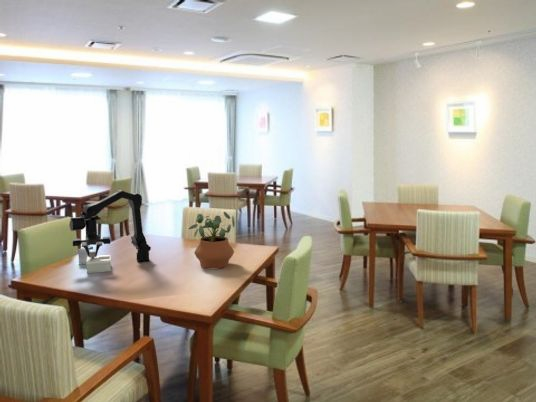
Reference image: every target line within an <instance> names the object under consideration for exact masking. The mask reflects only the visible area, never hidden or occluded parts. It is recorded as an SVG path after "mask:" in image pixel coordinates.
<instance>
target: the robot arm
mask: <svg viewBox="0 0 536 402" xmlns="http://www.w3.org/2000/svg"><path fill="white" fill-rule="evenodd" d="M121 199H125V200H128V201H127V202H128V204H129V206H130V208H131V214H132V224H133V235H132V236H130V237H131V238H130V239H131V244H132V245H133V246H134V248H135V249H136V251H137V252H136V261H137V262H138V263H142V262H143V263H144V262H151V261H150V252H151V250H152V247H151V246H150V245H149V244H148V242H147V239H146V236H145V234H144V231H143V222H142V214H141V206H142V204H143V196H142V195H141V194H139V193H136V192H127V191H124V190H121V189H119V190H116V192H113V193H112V194H110V195H108V196H106V197H105V198H102V199H101V200H99V201H96V202H91V203H88V204H86V205H85V206H84V207H83V209H82V210H83V211H82V212H81V213H80V215H79V217H78V216H77V217H70V220H69V229H70V231H71V232H73V231H81V230H83V231H84V229H85V239H82V238H74V239H72V247H80V246H81V248H85V250H86V251H87V254H88V256H89V247H88V246H92V245H93V246H95V249H96V257H97V256H98V252H99V250H100V247H102V246H103V244H104V245H107V244H108V245H110V244H111V236H103V237H102V238H101V234H98V221H101V219H102V218H101V217H99V215H98V214H99V213H101V211H102V210H103V209H105V208H107V207H108V206H110V205H111V204H114V203H115V202H117V201H119V200H121Z"/></svg>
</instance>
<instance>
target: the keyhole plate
mask: <svg viewBox="0 0 536 402" xmlns="http://www.w3.org/2000/svg"><path fill="white" fill-rule="evenodd" d="M111 259H112V257H111V254H103V255H97V257H94V259H91V258H90V257H89V256H87V261H86V264H85V265H86V274H93V273H104V272H105V273H106V272H112V262H111Z"/></svg>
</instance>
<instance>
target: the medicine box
mask: <svg viewBox="0 0 536 402" xmlns="http://www.w3.org/2000/svg"><path fill="white" fill-rule="evenodd" d="M88 247H89V250H92V249H94V247H93V246H92V245H88ZM77 251H78V252H77V253H78V264H79V265H86V261H87V256H88V254H87V251H86V250H85V248H84V247H81V248H79V249H77Z"/></svg>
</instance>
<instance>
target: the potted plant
mask: <svg viewBox="0 0 536 402" xmlns="http://www.w3.org/2000/svg"><path fill="white" fill-rule="evenodd" d="M223 215H224V216H225V219H223V220H222V218H221V217H222V216H221V215H215V217H214V218H213V219H211V218H210V215H207V216H205V218H206V219H205V221H204V215H203V214H202V213H198V214H197V215H196V216H197V217H196V220H195V224H193V225H190V226H189V228H188V230H191V229H196V230H195V232H194V234H193V238H195V237H196V236H197V234H198V233H199V235H200V237H201V238H200V239H199V240H200V241H199V244H198V245H197V247H196V248H195V250H194V251H193V253H194V256H195V257H196V258H197V259H198V261H199V264H200V267H201V268H202V269H207V268H220V269H223V268H222V267H224V268H226V267H225V266H227V265H228V266H229V262H230V260H231V259H232V257H233V255H234V253H235V250H234V248H233V246H232V245H231V244H230V243H229V238H228V237H227V236H226V233H227V234H229V233H230V232H231V228H232V227H233V228H235V217H234V215H232V217H230V215H229V213H227V212H226V211H223ZM226 219H228V220H231V223H232V225H231V224H228V225H227V227H226V229H225V228H223V226H225V224H224V225H222V226H221V225H220V224H221V223H222V222H223V221H225V220H226ZM203 221H204V225H199V227H198V224H202V223H203ZM197 227H198V228H197ZM205 228H206V229H207V230H208V231H209V232H210V234H211V235H210V234H208V235H205V234H207V232H205ZM209 228H210V229H211V230H212V231H211V230H210V229H209ZM218 231H219V233H218ZM228 266H227V267H228Z"/></svg>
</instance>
